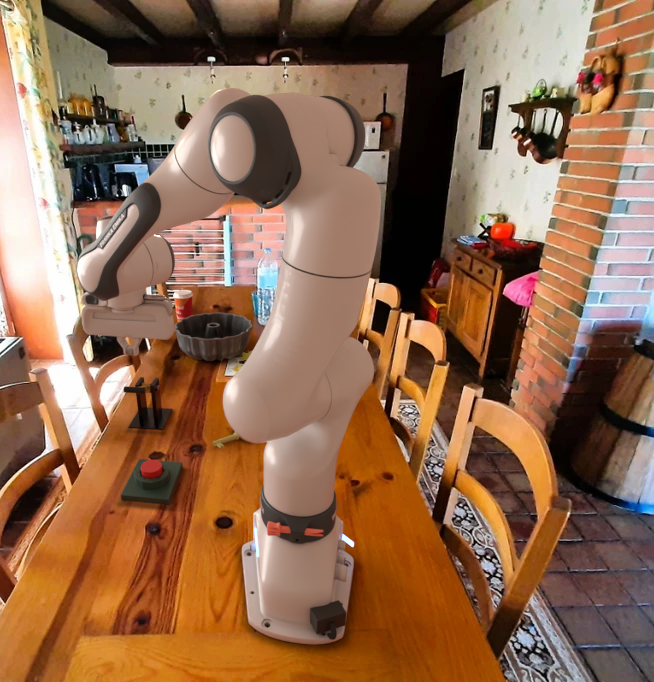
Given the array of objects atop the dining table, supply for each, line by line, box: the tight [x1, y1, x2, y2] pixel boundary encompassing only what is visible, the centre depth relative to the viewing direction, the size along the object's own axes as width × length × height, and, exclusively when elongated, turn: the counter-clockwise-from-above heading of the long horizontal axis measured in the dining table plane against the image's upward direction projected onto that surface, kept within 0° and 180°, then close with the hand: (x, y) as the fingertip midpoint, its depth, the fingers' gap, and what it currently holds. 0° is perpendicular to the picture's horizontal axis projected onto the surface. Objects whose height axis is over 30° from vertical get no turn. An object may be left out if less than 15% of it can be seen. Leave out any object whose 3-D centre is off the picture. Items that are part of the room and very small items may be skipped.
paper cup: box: [172, 289, 194, 323], centre depth 188 cm, size 8×8×14 cm
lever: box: [122, 382, 152, 394], centre depth 118 cm, size 12×5×2 cm, turn 169°
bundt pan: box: [174, 312, 254, 362], centre depth 165 cm, size 26×26×10 cm
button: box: [141, 459, 163, 479], centre depth 101 cm, size 4×4×2 cm
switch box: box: [120, 458, 184, 506], centre depth 102 cm, size 12×10×4 cm
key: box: [212, 430, 250, 449], centre depth 116 cm, size 7×12×2 cm, turn 142°
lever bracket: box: [128, 376, 173, 431], centre depth 125 cm, size 10×9×12 cm
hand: (131, 354), depth 106 cm, fingers closed
